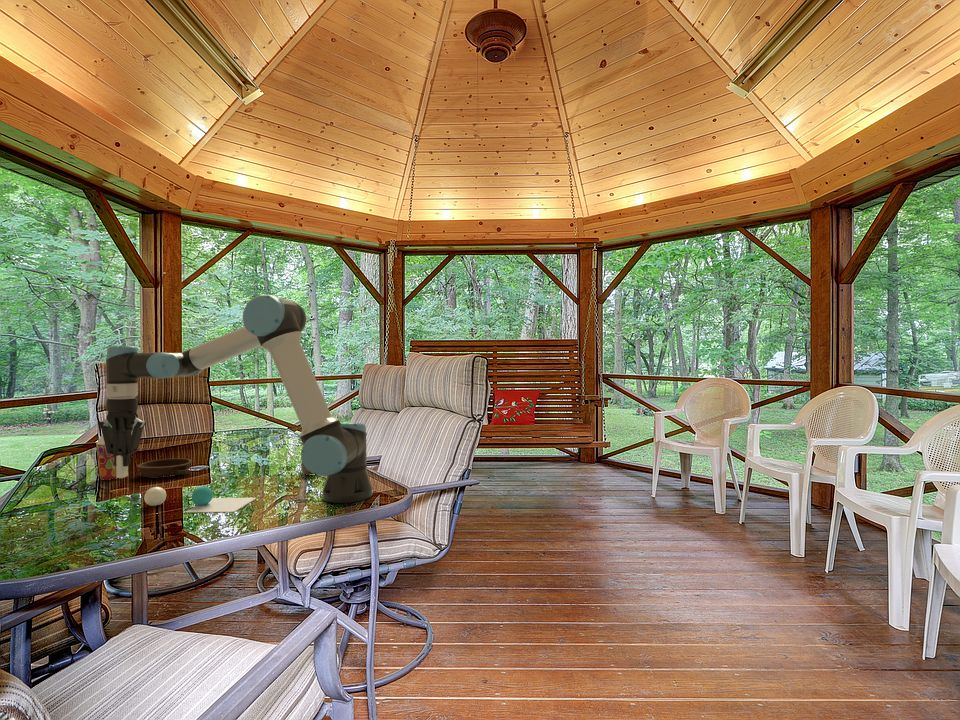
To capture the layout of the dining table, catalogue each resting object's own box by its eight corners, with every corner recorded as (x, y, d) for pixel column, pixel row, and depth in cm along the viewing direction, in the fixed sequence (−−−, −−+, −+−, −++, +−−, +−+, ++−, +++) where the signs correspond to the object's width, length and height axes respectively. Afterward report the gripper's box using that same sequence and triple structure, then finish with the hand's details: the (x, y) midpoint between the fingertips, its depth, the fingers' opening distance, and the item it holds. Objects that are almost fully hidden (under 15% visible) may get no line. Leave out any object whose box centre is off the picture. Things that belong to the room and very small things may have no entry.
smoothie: (124, 475, 186) (123, 422, 186) (126, 479, 180) (125, 424, 180) (96, 478, 181) (95, 424, 181) (97, 483, 174) (96, 426, 174)
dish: (162, 483, 174) (162, 469, 174) (121, 478, 182) (121, 464, 182) (206, 472, 190) (206, 459, 190) (167, 468, 199) (167, 456, 199)
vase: (297, 476, 182) (297, 452, 181) (308, 472, 188) (307, 449, 188) (313, 477, 180) (313, 453, 180) (324, 473, 187) (324, 449, 187)
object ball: (216, 502, 149) (216, 484, 149) (206, 507, 143) (206, 489, 143) (198, 502, 149) (198, 484, 149) (187, 508, 143) (187, 489, 143)
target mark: (257, 498, 153) (257, 497, 153) (234, 512, 139) (234, 511, 139) (212, 498, 153) (212, 497, 153) (184, 512, 139) (184, 511, 139)
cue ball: (170, 502, 149) (170, 484, 149) (158, 508, 143) (158, 489, 143) (152, 503, 149) (152, 484, 149) (139, 508, 143) (139, 489, 143)
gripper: (90, 398, 142) (90, 480, 143) (135, 398, 142) (135, 480, 142) (109, 396, 150) (109, 474, 150) (152, 396, 150) (152, 474, 150)
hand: (122, 477), depth 146 cm, fingers closed
